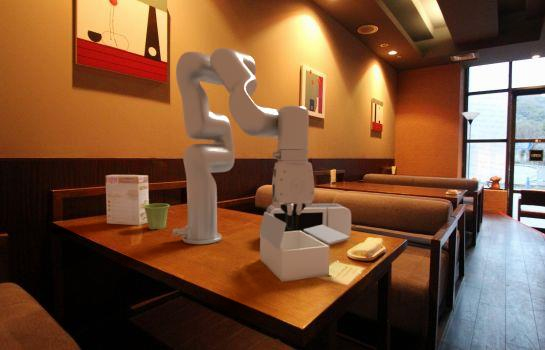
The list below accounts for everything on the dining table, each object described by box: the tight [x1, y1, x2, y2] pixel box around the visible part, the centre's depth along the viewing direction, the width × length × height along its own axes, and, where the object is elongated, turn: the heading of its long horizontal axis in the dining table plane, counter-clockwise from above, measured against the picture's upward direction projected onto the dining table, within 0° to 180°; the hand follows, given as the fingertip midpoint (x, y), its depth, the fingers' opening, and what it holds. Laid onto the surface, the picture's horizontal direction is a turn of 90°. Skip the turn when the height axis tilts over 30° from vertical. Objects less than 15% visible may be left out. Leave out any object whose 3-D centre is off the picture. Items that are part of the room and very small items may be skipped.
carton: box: [259, 231, 330, 283], centre depth 81 cm, size 12×16×7 cm
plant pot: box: [143, 203, 171, 230], centre depth 121 cm, size 9×9×9 cm
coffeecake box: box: [105, 174, 150, 226], centre depth 129 cm, size 15×7×20 cm, turn 77°
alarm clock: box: [265, 203, 352, 241], centre depth 108 cm, size 27×9×12 cm, turn 98°
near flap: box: [258, 211, 286, 249], centre depth 79 cm, size 6×14×1 cm
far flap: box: [304, 225, 352, 246], centre depth 84 cm, size 6×14×1 cm, turn 20°
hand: (292, 229), depth 80 cm, fingers closed
